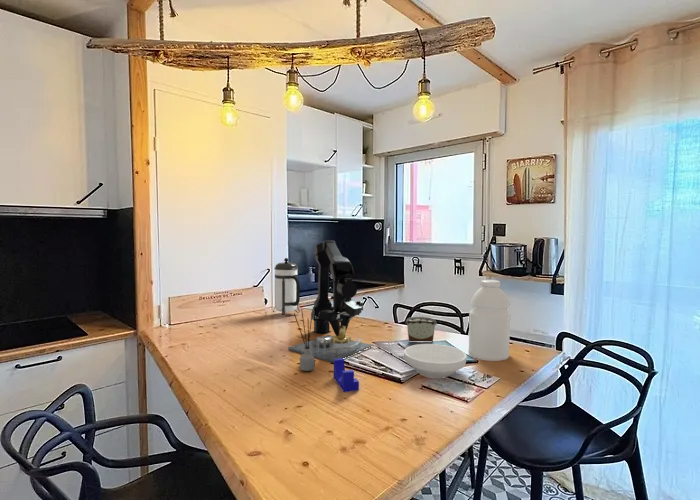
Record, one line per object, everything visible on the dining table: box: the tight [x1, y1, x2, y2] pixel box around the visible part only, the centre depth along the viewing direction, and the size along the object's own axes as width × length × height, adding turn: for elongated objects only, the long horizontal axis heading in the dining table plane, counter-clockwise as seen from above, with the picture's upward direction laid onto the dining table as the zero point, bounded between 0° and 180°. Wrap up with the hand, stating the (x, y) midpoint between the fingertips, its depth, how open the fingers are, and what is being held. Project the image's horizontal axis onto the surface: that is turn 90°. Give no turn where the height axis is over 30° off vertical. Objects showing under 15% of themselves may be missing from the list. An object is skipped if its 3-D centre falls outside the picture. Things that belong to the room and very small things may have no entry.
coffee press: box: [272, 257, 301, 316], centre depth 215 cm, size 17×16×30 cm
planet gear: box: [331, 323, 352, 344], centre depth 148 cm, size 8×8×6 cm
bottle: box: [467, 279, 511, 362], centre depth 142 cm, size 14×14×28 cm
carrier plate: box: [288, 334, 374, 364], centre depth 152 cm, size 23×23×4 cm
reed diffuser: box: [293, 308, 316, 372], centre depth 128 cm, size 10×7×20 cm
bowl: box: [403, 343, 468, 379], centre depth 125 cm, size 20×20×7 cm
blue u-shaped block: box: [333, 358, 360, 393], centre depth 117 cm, size 12×4×6 cm, turn 16°
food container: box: [405, 316, 438, 343], centre depth 161 cm, size 12×6×10 cm, turn 84°
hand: (340, 334), depth 148 cm, fingers closed on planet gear, 4 cm apart
